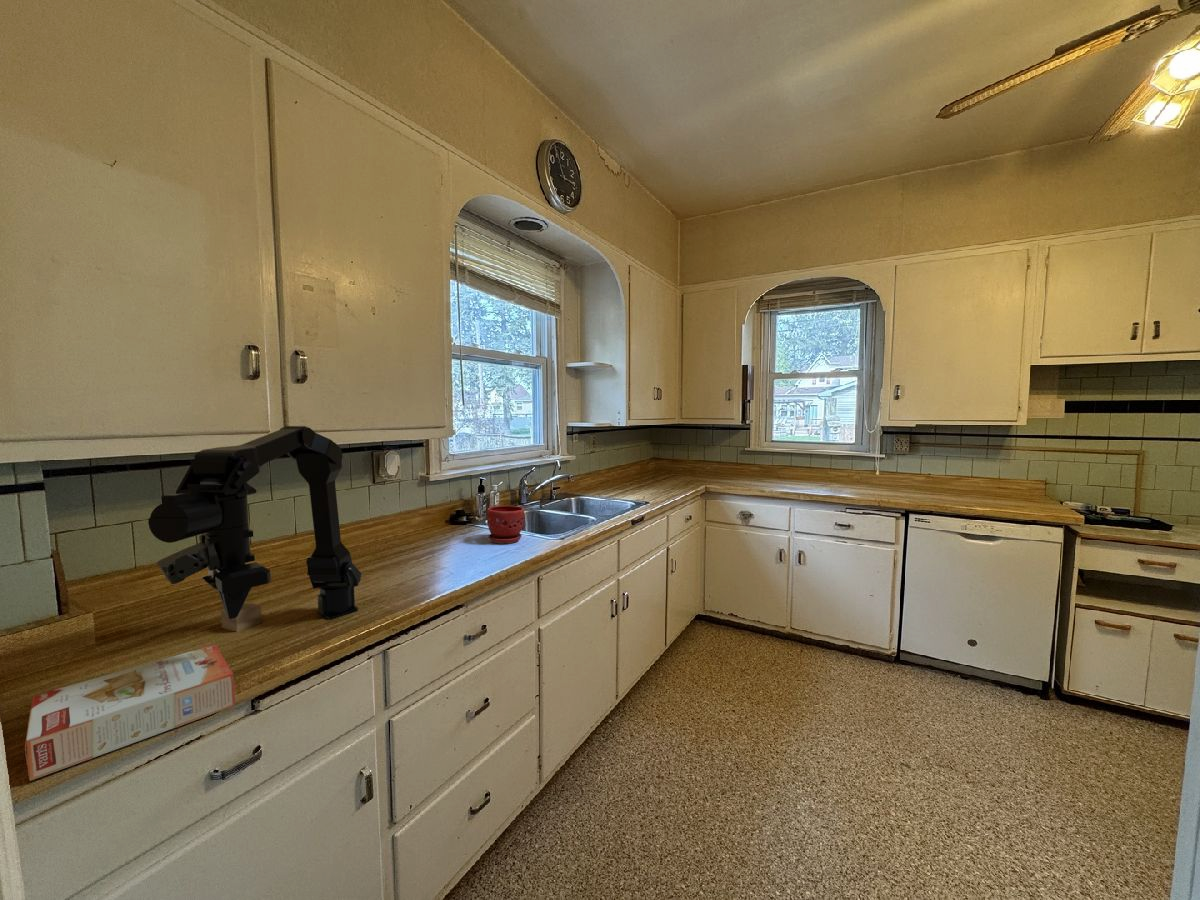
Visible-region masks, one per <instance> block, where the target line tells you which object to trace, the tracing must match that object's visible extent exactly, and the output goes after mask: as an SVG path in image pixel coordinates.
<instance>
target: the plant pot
mask: <svg viewBox="0 0 1200 900" xmlns="http://www.w3.org/2000/svg"><path fill="white" fill-rule="evenodd" d="M486 519H487V527H488V530H489V533H490V534H489V535H488V539H489V540H490V541H491V542H492V543H495V544H497V543H499V544H501V543H506V544H512V543H516V542H518V541H519V540H521V538H522V534H521V533H522V532H521V531H522V529H523V526H524V519H525V508H524V507H522V506H519V505H494V506H490V507H487V512H486ZM497 520H498V521H497ZM512 520H513V521H512Z"/></svg>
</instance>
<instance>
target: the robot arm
mask: <svg viewBox="0 0 1200 900" xmlns="http://www.w3.org/2000/svg"><path fill="white" fill-rule="evenodd" d="M285 455H287V456H289V458H291V459H292V460H294V461H295V463H296V466H297V471H298V473H299V475H301V477H302V478H303V479H304V481H305V482H306V483H307V484H308V489H309V497H310V507H311V508H310V509H311V517H312V525H313V534H314V543H315V548H314V550H313V551H312V553H311V555H310V556H309V557H307V558H306V560H305V563H306V567H307V573H306V574H307V576H309V580H310V582H311V586H312V588H313V589H319V594H318V595H317V607H318V609H317V613H318V614H321V615H322V616H323V617H325V618H326V619H328V620H331V619H335V618H337V617H338V618H339V617H340V616H344V615H347V614H350V613H353V612H357V611H358V610H359V607H358V606H357V605H356V603H355V600H356V599H355V588H356V587H358V586H359V585H360V583H361V579H362V572H361V571H360V570H359V569H358V568H357V567H356V566H355V564H354V563H353V560H352V556H351V552H350V550H349V549H347V547H346V546H345V545H344V544H343V542H342V540H341V539H342V538H341V528H340V521H339V520H340V519H339V510H338V502H337V501H338V500H337V498H338V497H337V490H336V489H337V488H336V479H337V477H338V476H339V474H340V472H341V470H342V468H343V465H342V464H343V451H342V448H341V446H340V445H338V444H337V443H336V442H334V441H333V440H332V439H330V438H328V437H326V436H324V435H321V434H319V433H317V432H315V431H314V430H313V429H312V428H311V427H310V426H309V427H308V426H306V425H286V426H282V427H280V428H279V430H276V431H273V432H271V433H268V434H265V435H263V436H260V437H258V438H255V439H253V440H250V441H248V442H244V443H242V444H238V445H232V446H230V445H229V446H220V447H219V446H218V447H213V448H207V449H201V450H200V451H198V452H196V454H194V459H193V460H192V462H191V464H190V466H189V467H188V469H187V471H186V472H185V474H184V476H183V477H182V480H181V482H180V484H179V485H178V487H177V489H176V490H175V493H168V494H163V495H161V497H160V499H161V503H160V504H159V505H157V506H155V508H153V509H152V512H151V513H150V517H149V518H148V521H147V523H148V528H149V530H150V532H151V534H152V535H153V536H154V537H155V538H156V539H157V540H159V541H161V542H163V543H168V544H169V543H170V544H171V543H175V542H176V543H177V542H179V541H183V540H185V539H189V538H193V537H197V536H199V537H198V540H199V542H198V543H195V544H194V545H192V546H188V547H186V548H183V549H181V550H179V551H177V552H175V553H172V554H170V555H168V556H166V557H163V558H162V559H160V560H158V561H157V562H156V564H157V565H156V566H158V568H159V569H160V571H161V572H162V574H163V575H164V577H165V579H166V580H167V581H168V583H170V584H171V585H176V584H179V583H182V582H183V581H185V579H186V578H188V577H189V578H190V577H191V576H193V575H195V574H197V573H199V572H201V571H203V570H205V569H207V570H208V571H207V573H208V575H206V576H203V577H202V578H201V579H202V580H203V581H204V582H206V583H207V584H208V585H209V586H210V587H211V588H213V589H215V590H217V593H218V595H219V598H220V601H221V604H222V605H223V608H224V609H225V611H226V614H227V617H228V618H229V619H233V618H236V617H237V616H238V614H239V612H240V610H241V608H242V606H243V604H244V602H246V600H247V597H248V596H249V593H250V591H251V589H252V588H255V587H259V586H262V585H266V584H268V585H269V583H271V580H272V579H271V570H270V569H269V568H266V566H263V565H262V564H260V563H258V562H256V560H255V559H256V557H255V554H254V553H253V552H251V539H250V538H252V537H254V530H252V529H251V528H250V521H249V507H248V506H249V505H248V496H251V495H254V494H256V493H257V489H256V488H255V487H253V486H251V485H250V484H248V483H249V481H251V480H252V479H254V478H255V477H256V476H257V475H259V474H260V471H261V467H263V466H264V465H266V464H267V463H270V462H272V461H274V460H276V459H278V458H281V457H283V456H285ZM254 561H255V562H254ZM249 562H250V563H249Z"/></svg>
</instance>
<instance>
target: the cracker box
mask: <svg viewBox="0 0 1200 900" xmlns="http://www.w3.org/2000/svg"><path fill="white" fill-rule="evenodd" d="M235 702H236V696H235V679H234V673H233V671H232V670H231V668H230V667H229V665H228V663H227V661H226V660H225V658H224V656H223V654H222V652H221V651H220V649H219V647H218V646H217V645H216V644H212V645H208V646H204V647H202V648H199V649H195V650H190V651H188V652H187V651H186V652H183V653H181V654H177V655H173V656H169V657H167V658H163V659H162V658H161V659H159V660H156V661H151V662H149V663H148V662H147V663H144V664H141V665H138V666H132V667H131V668H128V669H127V668H126V669H123V670H120V671H115V672H113V673H110V674H109V673H108V674H105V675H102V676H98V677H95V678H92V679H88V680H84V681H80V682H77V683H73V684H70V685H69V684H68V685H67V686H66V685H65V686H63V687H59V688H56V689H52V690H48V691H43V692H42V693H41V692H40V693H38V694H37V693H36V694H34V695H33V697H32V699H31V706H30V711H29V715H28V716H29V717H28V721H27V722H28V723H27V730H26V738H25V742H24V750H25V752H24V755H25V758H26V759H25V760H26V766H27V774H28V775H27V776H28V779H29V781H34V780H36V779H39V778H43V777H45V776H47V775H50V774H53V773H56V772H58V771H60V770H64V769H66V768H67V769H68V768H69V767H73V766H75V765H78V764H80V763H83V762H86V761H89V760H91V759H94V758H97V757H99V756H102V755H105V754H108V753H110V752H113V751H115V750H118V749H121V748H124V747H127V746H130V745H133V744H134V743H137V742H140V741H143V740H145V739H148V738H151V737H154V736H156V735H159V734H162V733H165V732H167V731H170V730H173V729H176V728H178V727H181V726H183V725H187V724H190V723H192V722H195V721H197V720H200V719H203V718H205V717H208V716H211V715H213V714H216V713H220V712H221V711H224V710H227V709H230V708H232V707H235V706H236V705H235V704H236V703H235Z"/></svg>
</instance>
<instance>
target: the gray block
mask: <svg viewBox="0 0 1200 900" xmlns="http://www.w3.org/2000/svg"><path fill="white" fill-rule="evenodd" d="M220 619H221V628H222V629H224V630H227V631H228V630H229V631H232V632H236V633H238V632H240V631H242V630H245V629H248V628H250V627H254V626H256V625H258V624H260V623H262V605H261V604H258V603H253V602H249V601H245V602H244V604H243V606H242V608H241V610H240V612H239V614H238V616H237V617H236V618H233V619H229V618H228V617H227V614H226V611H225V609H221V610H220Z"/></svg>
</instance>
